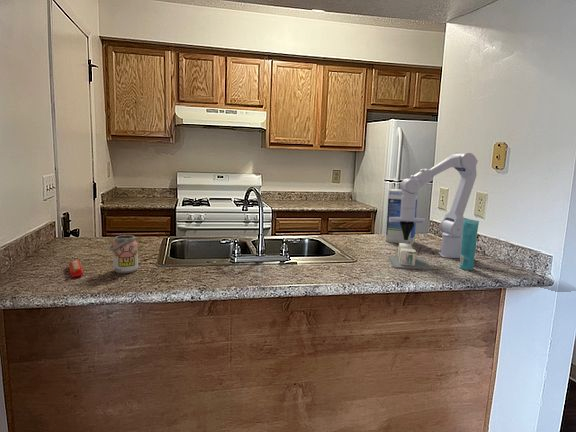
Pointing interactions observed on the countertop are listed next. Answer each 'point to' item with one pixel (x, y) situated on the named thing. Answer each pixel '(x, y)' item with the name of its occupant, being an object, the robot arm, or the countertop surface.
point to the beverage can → (125, 254)
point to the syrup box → (406, 254)
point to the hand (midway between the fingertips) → (405, 239)
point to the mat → (419, 264)
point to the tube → (468, 243)
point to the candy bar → (75, 268)
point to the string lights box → (394, 210)
